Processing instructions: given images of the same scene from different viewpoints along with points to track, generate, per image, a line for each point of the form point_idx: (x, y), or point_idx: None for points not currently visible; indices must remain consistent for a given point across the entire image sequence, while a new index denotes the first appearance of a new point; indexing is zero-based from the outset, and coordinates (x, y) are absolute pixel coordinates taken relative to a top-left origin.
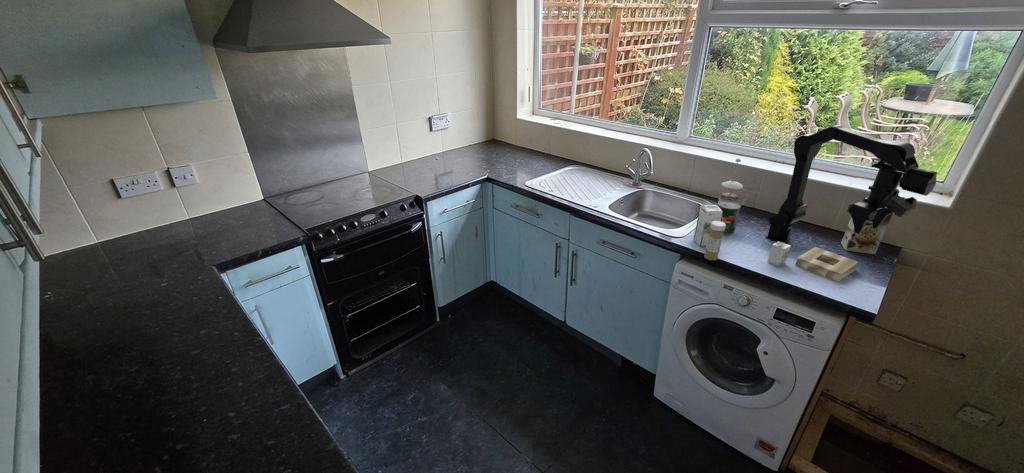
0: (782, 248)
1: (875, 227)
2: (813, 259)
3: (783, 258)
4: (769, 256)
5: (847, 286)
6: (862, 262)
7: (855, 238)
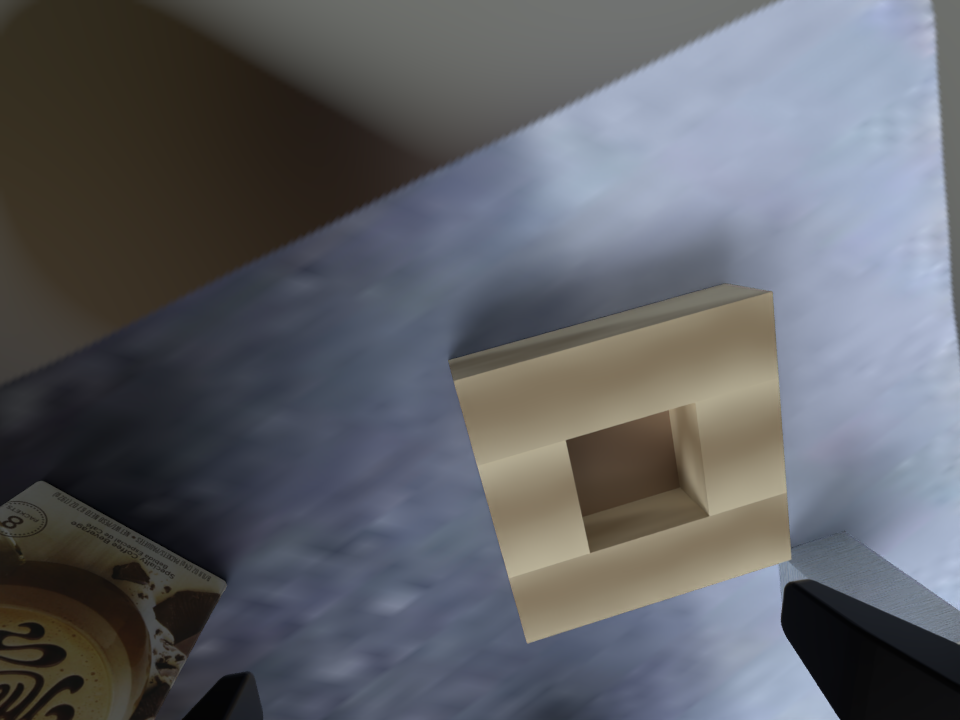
0: None
1: (248, 696)
2: (726, 510)
3: (868, 573)
4: None
5: (725, 219)
6: (281, 419)
7: (144, 661)
